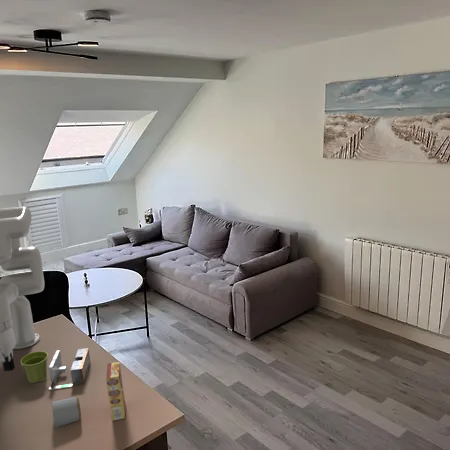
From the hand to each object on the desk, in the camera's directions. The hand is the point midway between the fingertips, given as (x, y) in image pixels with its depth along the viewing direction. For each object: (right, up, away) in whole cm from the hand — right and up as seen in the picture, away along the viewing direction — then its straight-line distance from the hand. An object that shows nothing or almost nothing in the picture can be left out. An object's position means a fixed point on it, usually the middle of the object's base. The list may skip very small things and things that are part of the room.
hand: (9, 369), depth 153 cm
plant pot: (+9, -4, +3) cm, 11 cm away
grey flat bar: (+18, -3, +2) cm, 18 cm away
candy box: (+45, -7, -18) cm, 49 cm away
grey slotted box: (+21, -3, +4) cm, 22 cm away
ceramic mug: (+29, -9, -20) cm, 36 cm away
